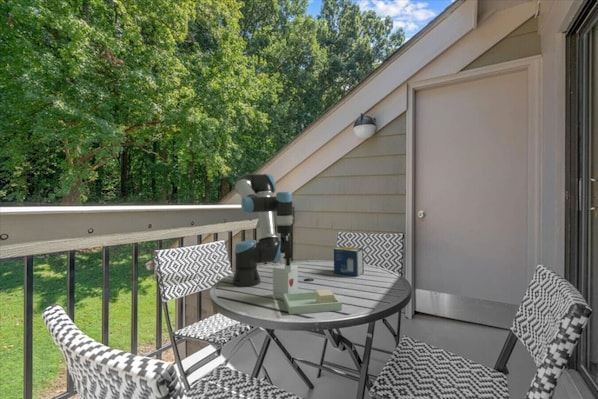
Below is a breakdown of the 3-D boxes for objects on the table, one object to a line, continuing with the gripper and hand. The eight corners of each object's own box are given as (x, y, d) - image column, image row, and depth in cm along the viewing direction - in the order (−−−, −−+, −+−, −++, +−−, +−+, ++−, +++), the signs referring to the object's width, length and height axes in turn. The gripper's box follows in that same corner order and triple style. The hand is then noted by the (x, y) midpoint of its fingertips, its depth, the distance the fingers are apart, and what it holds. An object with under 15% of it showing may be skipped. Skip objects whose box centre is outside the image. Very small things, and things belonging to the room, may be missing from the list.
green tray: (283, 302, 142) (283, 293, 142) (330, 298, 146) (330, 290, 146) (289, 316, 125) (289, 306, 125) (341, 312, 129) (341, 302, 129)
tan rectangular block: (315, 301, 140) (315, 290, 140) (328, 300, 141) (328, 289, 141) (320, 307, 132) (320, 295, 132) (334, 306, 133) (333, 294, 133)
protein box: (341, 270, 200) (341, 246, 200) (363, 273, 191) (363, 248, 191) (333, 273, 192) (333, 248, 192) (356, 277, 183) (356, 250, 183)
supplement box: (288, 302, 142) (287, 269, 142) (272, 298, 147) (272, 267, 147) (298, 296, 150) (298, 265, 150) (283, 293, 155) (283, 263, 154)
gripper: (297, 226, 136) (298, 274, 136) (288, 222, 161) (289, 263, 161) (280, 227, 135) (281, 276, 135) (274, 222, 160) (274, 264, 160)
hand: (285, 269), depth 148 cm, fingers open, 13 cm apart
